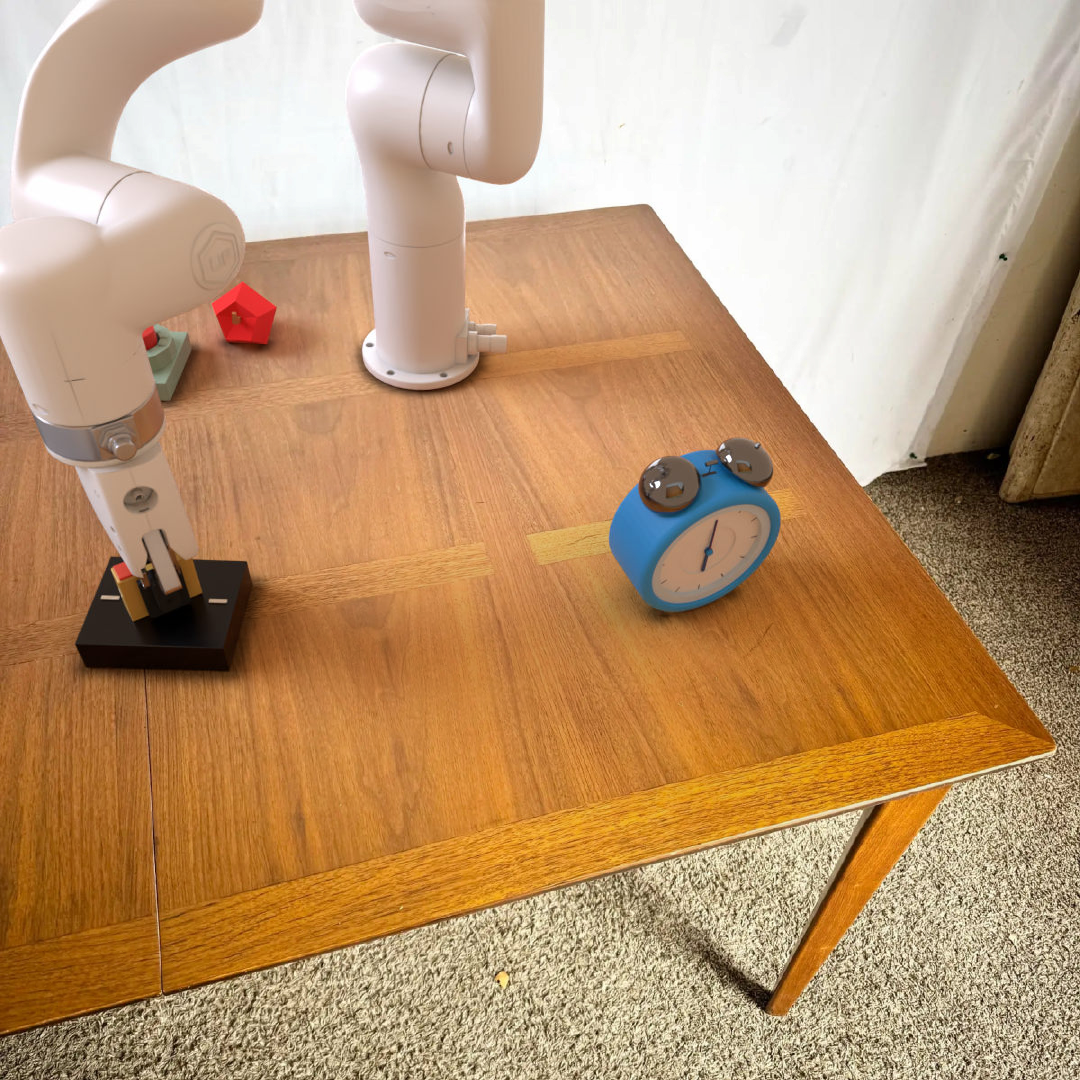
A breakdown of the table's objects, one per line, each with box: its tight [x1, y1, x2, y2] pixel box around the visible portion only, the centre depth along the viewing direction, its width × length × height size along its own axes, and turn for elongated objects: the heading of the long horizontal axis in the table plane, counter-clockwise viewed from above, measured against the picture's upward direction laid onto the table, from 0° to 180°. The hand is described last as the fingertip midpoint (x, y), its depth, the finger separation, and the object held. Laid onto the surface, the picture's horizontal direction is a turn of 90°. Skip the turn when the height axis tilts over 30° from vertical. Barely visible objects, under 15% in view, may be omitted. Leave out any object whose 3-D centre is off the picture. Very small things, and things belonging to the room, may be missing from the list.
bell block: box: [146, 323, 193, 402], centre depth 98 cm, size 9×7×4 cm
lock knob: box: [111, 551, 202, 621], centre depth 74 cm, size 6×2×5 cm, turn 125°
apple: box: [211, 281, 278, 345], centre depth 103 cm, size 7×7×8 cm
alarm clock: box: [608, 436, 782, 616], centre depth 78 cm, size 13×6×15 cm, turn 115°
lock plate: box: [74, 556, 254, 672], centre depth 76 cm, size 11×9×3 cm
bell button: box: [142, 326, 157, 351], centre depth 97 cm, size 4×4×2 cm
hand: (163, 596), depth 75 cm, fingers closed on lock knob, 2 cm apart
